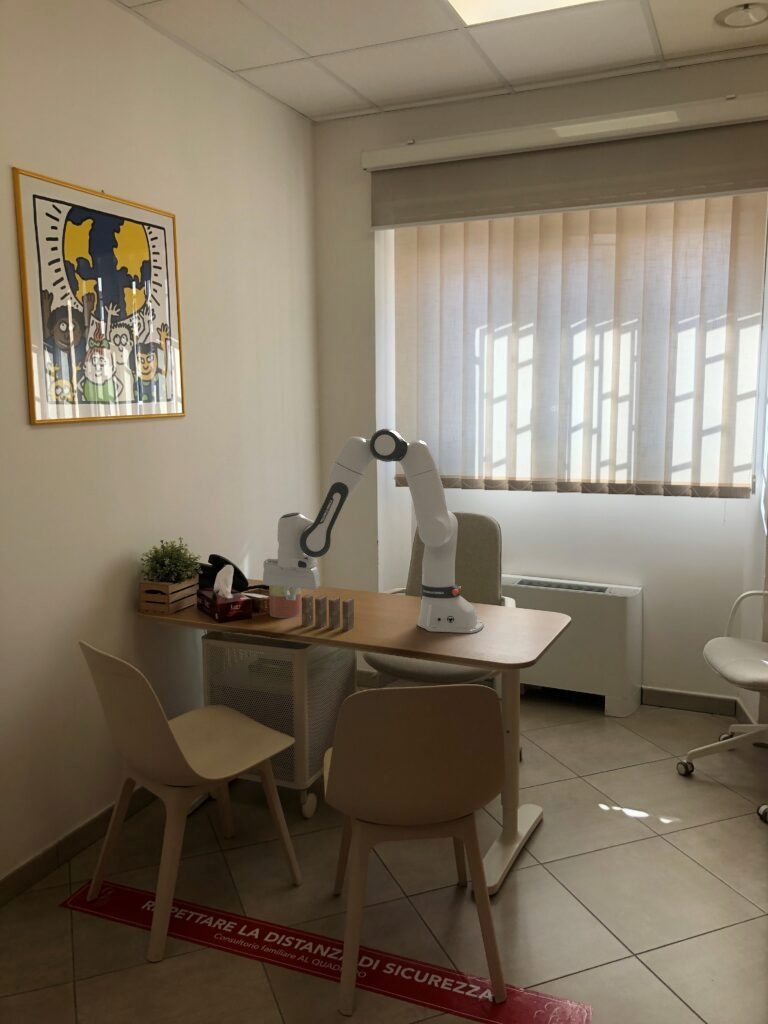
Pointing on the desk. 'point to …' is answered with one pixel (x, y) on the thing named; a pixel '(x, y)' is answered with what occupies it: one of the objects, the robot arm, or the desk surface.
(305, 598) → the domino
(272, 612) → the canned food
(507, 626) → the desk surface
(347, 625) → the domino
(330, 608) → the domino
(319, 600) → the domino
